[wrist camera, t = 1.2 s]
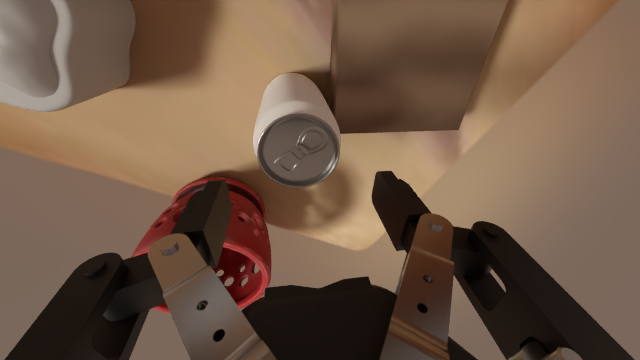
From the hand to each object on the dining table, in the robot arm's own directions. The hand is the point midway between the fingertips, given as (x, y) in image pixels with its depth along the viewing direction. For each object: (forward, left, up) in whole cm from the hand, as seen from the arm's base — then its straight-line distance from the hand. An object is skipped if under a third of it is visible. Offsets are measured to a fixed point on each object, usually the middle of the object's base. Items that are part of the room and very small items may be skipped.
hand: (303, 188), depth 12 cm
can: (0, 0, -16) cm, 16 cm away
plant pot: (+14, -10, -16) cm, 23 cm away
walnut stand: (-5, +11, -16) cm, 20 cm away
